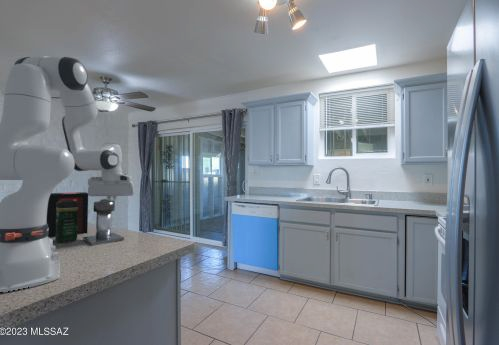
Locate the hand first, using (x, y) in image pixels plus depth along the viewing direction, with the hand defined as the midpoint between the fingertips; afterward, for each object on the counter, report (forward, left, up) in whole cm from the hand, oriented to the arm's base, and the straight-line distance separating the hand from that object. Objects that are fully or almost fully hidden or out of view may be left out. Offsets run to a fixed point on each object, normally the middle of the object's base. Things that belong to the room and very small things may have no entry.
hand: (111, 205), depth 125 cm
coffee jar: (+3, +17, -15) cm, 23 cm away
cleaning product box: (+18, +14, -15) cm, 28 cm away
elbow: (-3, +4, -2) cm, 6 cm away
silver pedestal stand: (-7, +5, -15) cm, 17 cm away
